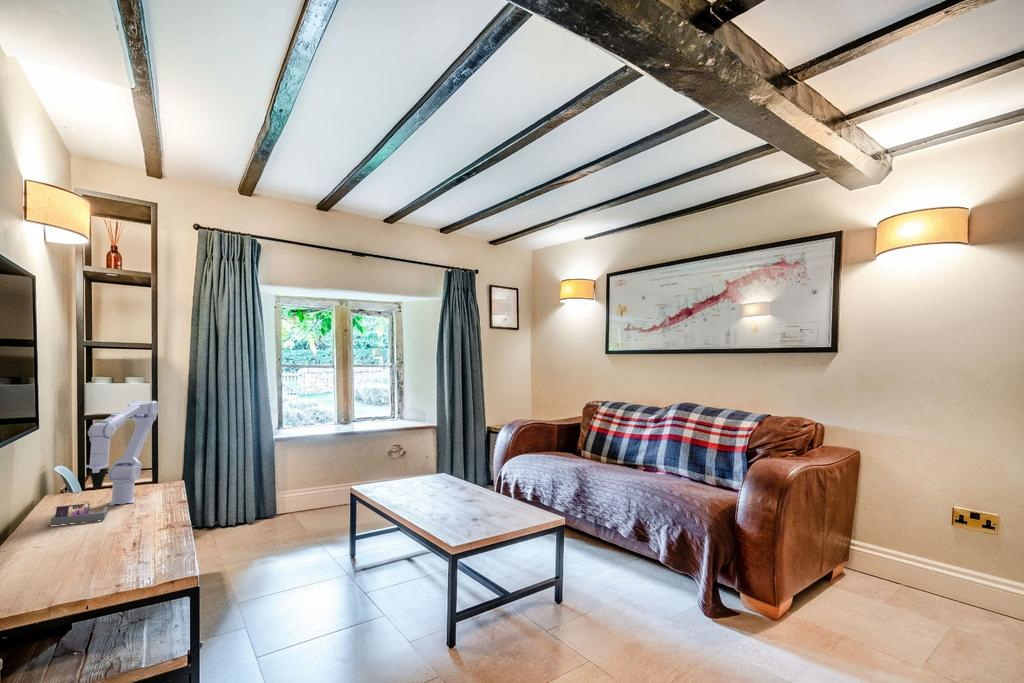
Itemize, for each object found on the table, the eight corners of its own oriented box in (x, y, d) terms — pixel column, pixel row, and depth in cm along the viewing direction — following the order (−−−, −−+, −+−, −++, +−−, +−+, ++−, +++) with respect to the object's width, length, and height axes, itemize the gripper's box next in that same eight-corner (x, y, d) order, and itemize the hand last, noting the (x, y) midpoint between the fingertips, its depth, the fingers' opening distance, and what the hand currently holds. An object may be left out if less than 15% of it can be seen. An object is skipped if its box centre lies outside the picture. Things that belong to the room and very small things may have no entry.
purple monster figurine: (56, 506, 171) (89, 503, 176) (58, 508, 174) (91, 504, 180) (53, 526, 168) (86, 522, 173) (56, 527, 172) (88, 523, 177)
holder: (56, 520, 175) (56, 512, 175) (107, 514, 183) (108, 506, 183) (50, 527, 168) (50, 518, 168) (103, 520, 176) (104, 512, 176)
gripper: (89, 451, 191) (87, 485, 190) (83, 457, 179) (80, 493, 178) (112, 450, 195) (110, 483, 194) (107, 455, 183) (104, 491, 182)
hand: (97, 488), depth 186 cm, fingers closed
